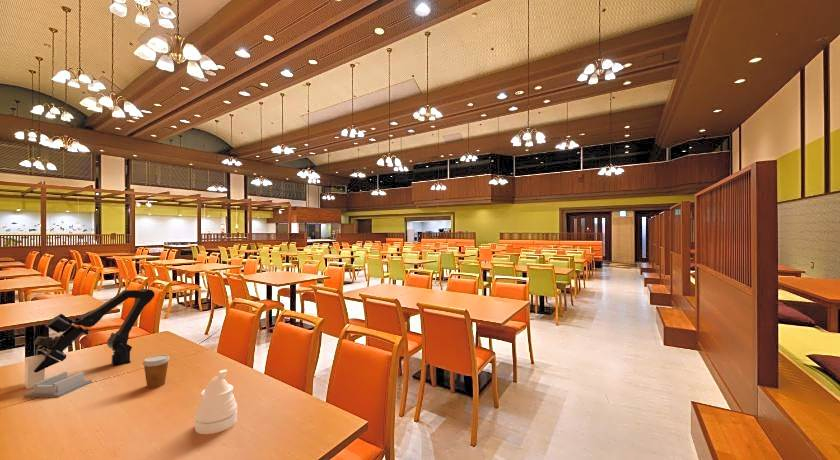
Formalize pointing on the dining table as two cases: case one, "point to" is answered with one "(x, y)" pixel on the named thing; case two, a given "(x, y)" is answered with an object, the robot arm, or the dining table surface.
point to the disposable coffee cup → (156, 370)
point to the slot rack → (58, 385)
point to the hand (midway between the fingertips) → (31, 369)
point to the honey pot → (216, 407)
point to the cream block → (30, 366)
